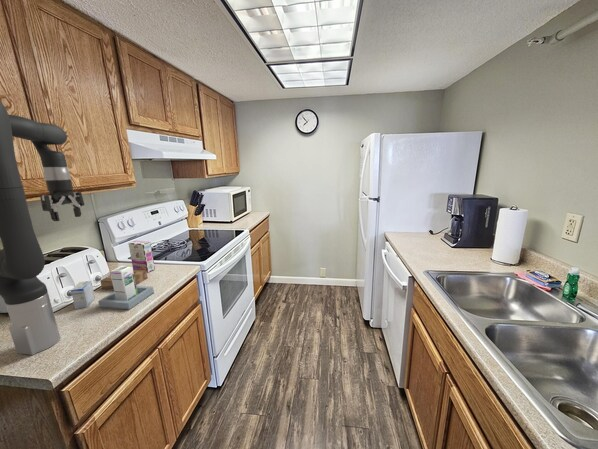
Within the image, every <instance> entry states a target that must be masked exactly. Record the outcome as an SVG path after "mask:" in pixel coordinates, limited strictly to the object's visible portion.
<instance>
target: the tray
mask: <svg viewBox="0 0 598 449" xmlns="http://www.w3.org/2000/svg"><path fill="white" fill-rule="evenodd" d="M136 288H137V292H138V295H137V296H135V297H134V298H132V299H130V300H129V301H120V300H116V296H115V292H114V291H113V292H111V293H109V294H107V295H106V296H104V297H103V298H101V299H99V300H98V301H97V302H98V306H99V308H100V309H101V308H102V309H112V310H113V309H114V310H127V311H130V310H132V309H133V308H135V307H136V306H137V305H139V304H141V303H142V302H144V300H146V299H147V298H149V297H150V296H152V295H153V294H154V293H155V291H154V287H153V286H143V285H136Z"/></svg>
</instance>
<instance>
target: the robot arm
mask: <svg viewBox="0 0 598 449" xmlns="http://www.w3.org/2000/svg"><path fill="white" fill-rule="evenodd" d="M13 138H18V139H22V140H27V141H31V144H33V146H34V147H35V150H36V152H37V153H38V155H39V157H40V161H41V165H42V167H43V168H42V170H43V176H44V180H45V184H46V189H47V191H48V193H49V195H40V196H39V198H40V201H41V202H40V203H41V208H42V211H44V212H49V215H50V218H51V220H52V221H53V222H60V217H59V212H58V209H59V208H60V207H61V206H64V205H70V206H71V207H72V208H73V213H74V217H76V218H77V217H78V218H79V217H81V215H82V212H81V207H82V206H85V201H84V198H83V195H82V191H73V190H74V187H73V182H72V177H71V174H70V170H69V168H68V162H67V160H66V155H65V154H64V153H63V152H62V151H57V150H52V149H51V148H50V147H49V145H50V146H51V145H53V146H56V145H57V146H58V145H59V146H60V145H63V144H65V143H66V142H67V141H68V140H67V139H68V135H67V132H66V131H65V130H64V129H63V128H62V127H61V126H59V125H56V124H52V123H46V122H39V121H36V120H35V119H34V120H33V119H30V118H28V117H24V116H19V115H13V114H9V113H8V110H7V108H6V107H5V105H4V104H3V102H2V101H0V241H1V245H2V248H1V249H0V297H1V298H2V299H3V300H4V304H5V307H6V311H7V313H8V317H9V318H10V323H11V325H9V327H8V330H9V333H10V337H11V339H12V342H13V345H14V348H15V351H16V354H18V355H19V354H21V355H29V356H33V355H35V354H37V353H40V352H43V351H45V350H47V349H49V348H50V347H53V346H54V345H55V344H57V343H58V342H59V341H60V340H61V335H60V331H59V328H58V324H57V320H56V316H55V313H54V310H53V305H52V303H51V299H50V294H49V292H48V288H47V285H46V284H45V283H44V282H43V281H42V280H40V279H39V278H38V277H37V276H39V275H40V274H41V273H42V272H43V270H44V268H45V264H46V260H45V256H44V253H43V250H42V248H41V245H40V243H39V240H38V239H37V236H36V233H35V231H34V230H35V229H34V226H33V223H32V218H31V214H30V210H29V205H28V203H27V197H26V193H25V189H24V185H23V182H22V178H21V175H20V171H19V168H18V163H17V159H16V158H17V157H16V153H15V144H14V139H13Z"/></svg>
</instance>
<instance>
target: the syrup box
mask: <svg viewBox="0 0 598 449" xmlns="http://www.w3.org/2000/svg"><path fill="white" fill-rule="evenodd" d="M109 274H110V275H111V279H112V283H113V288H114V290H113V292H115V296H116V300H120V301H129V300H130V299H132V298H134V297H135V296H137V295H138V292H137V288H136V286H137V285H136V282H135V278H134V273H133V266H132V265H120V266H119V267H116V268H114V269H112V270H110V271H109Z"/></svg>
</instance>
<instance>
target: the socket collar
mask: <svg viewBox="0 0 598 449" xmlns="http://www.w3.org/2000/svg"><path fill="white" fill-rule="evenodd" d="M133 273H134V278H135V282H136V286H138V285H139V284H140V283H142V282H144V281H146V280H147V279H149V277H148V273H147V271H146V270H134V269H133ZM99 282H100V285H101V290H113V291H114V288H113V283H112V279H111V274H110V275H108V276H107V277H106V276H105V277H104V278H102V279H100V280H99Z"/></svg>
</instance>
